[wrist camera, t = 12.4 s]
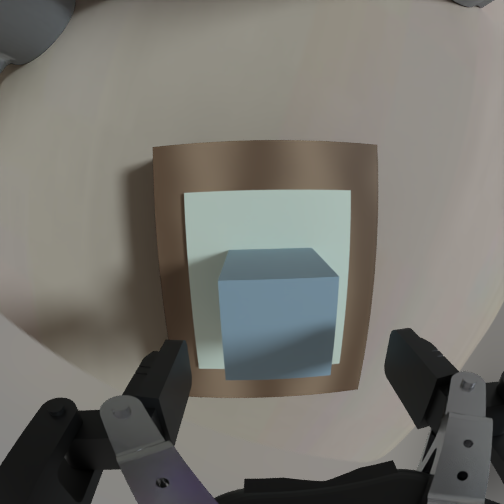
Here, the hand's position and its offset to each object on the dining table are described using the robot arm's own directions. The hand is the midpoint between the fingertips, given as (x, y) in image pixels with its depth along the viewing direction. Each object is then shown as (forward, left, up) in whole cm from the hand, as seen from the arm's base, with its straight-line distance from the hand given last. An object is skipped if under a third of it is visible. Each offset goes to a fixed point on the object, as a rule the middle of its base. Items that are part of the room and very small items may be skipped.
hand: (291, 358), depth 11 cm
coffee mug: (+24, -25, -13) cm, 37 cm away
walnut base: (0, 0, -12) cm, 12 cm away
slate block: (0, 0, -8) cm, 8 cm away
